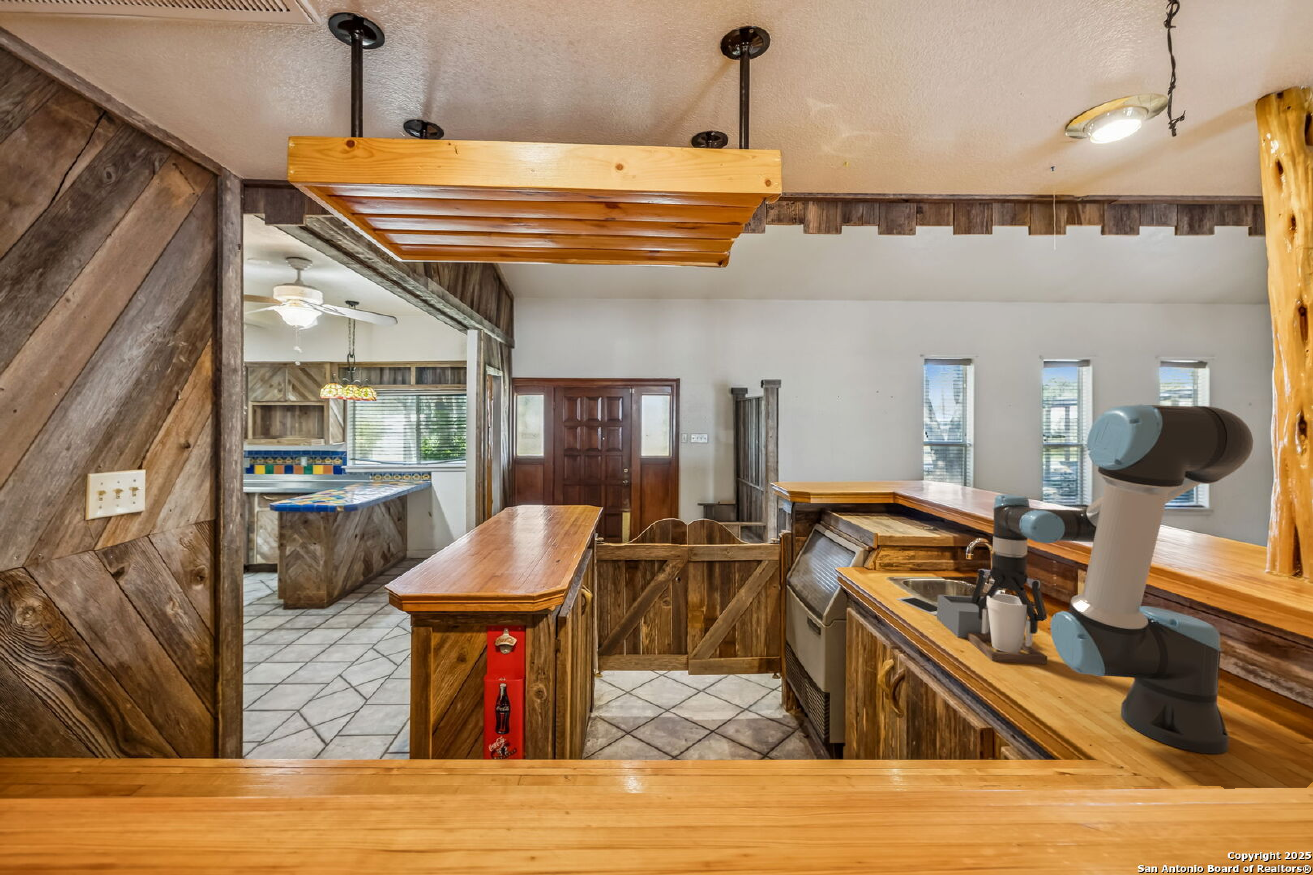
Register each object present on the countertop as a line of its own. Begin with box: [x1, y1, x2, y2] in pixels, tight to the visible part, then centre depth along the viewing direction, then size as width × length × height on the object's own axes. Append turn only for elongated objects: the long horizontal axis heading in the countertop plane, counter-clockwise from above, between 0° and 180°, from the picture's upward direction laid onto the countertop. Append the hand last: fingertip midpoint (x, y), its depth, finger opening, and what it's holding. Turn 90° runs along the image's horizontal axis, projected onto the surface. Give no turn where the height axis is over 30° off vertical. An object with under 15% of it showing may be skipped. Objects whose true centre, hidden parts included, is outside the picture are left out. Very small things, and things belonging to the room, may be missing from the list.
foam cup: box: [986, 593, 1029, 653], centre depth 137 cm, size 10×9×13 cm
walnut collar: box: [966, 632, 1048, 665], centre depth 138 cm, size 13×13×2 cm
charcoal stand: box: [936, 594, 991, 639], centre depth 152 cm, size 14×14×8 cm
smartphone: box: [896, 595, 937, 617], centre depth 171 cm, size 7×16×1 cm, turn 20°
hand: (1006, 638), depth 137 cm, fingers closed on foam cup, 9 cm apart
